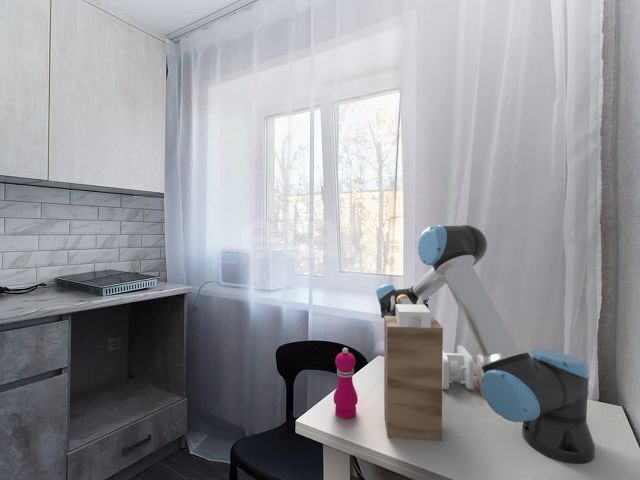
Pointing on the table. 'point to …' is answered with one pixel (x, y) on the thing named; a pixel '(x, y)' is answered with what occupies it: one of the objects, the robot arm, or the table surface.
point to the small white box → (412, 313)
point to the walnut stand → (413, 380)
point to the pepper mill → (345, 386)
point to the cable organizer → (457, 368)
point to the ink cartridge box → (479, 372)
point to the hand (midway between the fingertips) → (407, 300)
